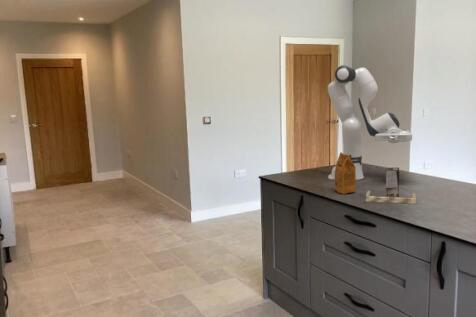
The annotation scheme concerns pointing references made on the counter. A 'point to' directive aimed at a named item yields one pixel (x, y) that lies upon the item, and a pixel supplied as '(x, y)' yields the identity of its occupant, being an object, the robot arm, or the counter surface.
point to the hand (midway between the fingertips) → (393, 138)
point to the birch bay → (390, 199)
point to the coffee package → (345, 174)
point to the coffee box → (392, 182)
